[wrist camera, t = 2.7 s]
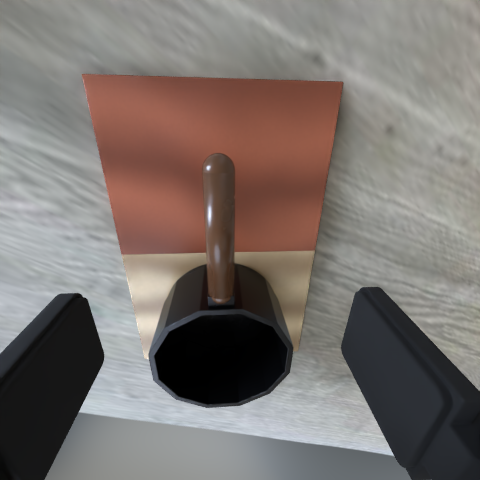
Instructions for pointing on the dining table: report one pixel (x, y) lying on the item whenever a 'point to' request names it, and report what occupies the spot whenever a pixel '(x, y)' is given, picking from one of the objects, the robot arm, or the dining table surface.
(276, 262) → the board
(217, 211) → the saucepan
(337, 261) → the dining table surface
